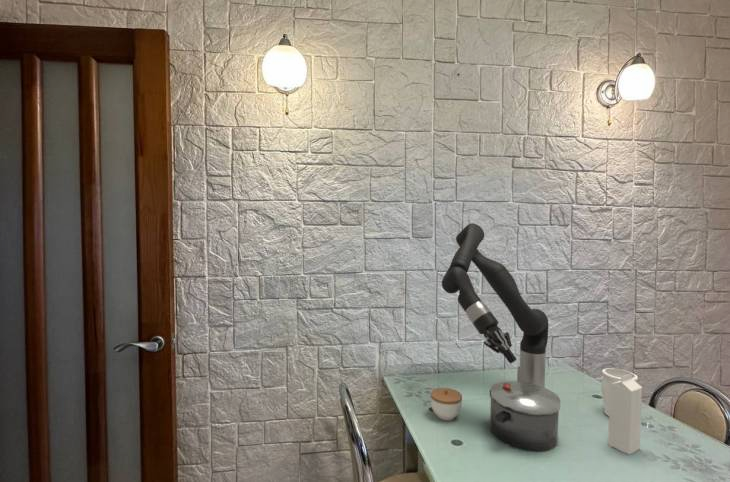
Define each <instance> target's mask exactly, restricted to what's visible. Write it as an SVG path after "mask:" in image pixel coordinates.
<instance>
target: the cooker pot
mask: <svg viewBox="0 0 730 482" xmlns="http://www.w3.org/2000/svg"><path fill="white" fill-rule="evenodd" d="M489 397H490V407H489V409H490V410H489V411H490V413H489V414H490V415H489V430H490V432H491V434H492V435H493V437H494V438H495V439H497V440H498V441H500V442H501V443H502V444H504V445H506V446H509V447H512V448H515V449H518V450H522V451H527V452H537V453H538V452H547V451H550V450H552V449H554V448H555V447H556V446H557V444H558V442H559V441H558V440H559V415H560V414H559V413H560V412H559V411H560V409H559V410H558V411H557V412H556V413H553V414H549V415H528V414H522V413H518V412H514V411H511V410H508V409H506V408H504V407H502V406H500V405H498V404H497V403H496V402H494V400H493V399H492V398H491V388H490V389H489Z"/></svg>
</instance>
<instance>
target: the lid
mask: <svg viewBox="0 0 730 482" xmlns="http://www.w3.org/2000/svg"><path fill="white" fill-rule="evenodd" d="M490 389H491V397H490V399H491V398H492V399H493V400H494V402H496V403H497V404H498V405H500V406H502V407H504V408H506V409H508V410H511V411H514V412H518V413H522V414H528V415H549V414H553V413H556V412H557V411H558V410H559V411H560V408H561V399H560V397H559V395H557V394H556V393H555V392H553V390H552V391H551V390H550V389H548V388H547V387H545V388H544V387H541V386H538V385H535V384H531V383H525V382H517V381H516V380H515V381H514V380H513V381H511V380H510V381H509V380H508V381H501V382H497V383H495V384H492V386H491V388H490Z"/></svg>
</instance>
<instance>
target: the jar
mask: <svg viewBox="0 0 730 482" xmlns="http://www.w3.org/2000/svg"><path fill="white" fill-rule="evenodd" d="M601 373H602V375H603V377H602V381H601V393H602V394H601V395H602V402H603V405H604V407H605V408H604V410H603V412H604V414H605V415H607V416H608V417H609V409H610V384H612V383H615V382H618V381H620V380H621V377H623V376H626V375H628V374H632V379H633V380H634V381H635V382H637V381H638V379H639V378H638V375H636V374H635V373H633V372H631V371H629V370H628V371H627V370H625V369H621V368H613V367H611V368H610V367H608V368H607V367H606V368H604V369H602V371H601Z"/></svg>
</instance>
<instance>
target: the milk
mask: <svg viewBox="0 0 730 482" xmlns="http://www.w3.org/2000/svg"><path fill="white" fill-rule="evenodd" d="M642 399H643V387H642V385H640V384H639V382H637V381H636V382H635V381H634V380H633V379H632V374H628V375H626V376H623V377H621V380H620V381H618V382H615V383H612V384H610V409H609V416H608V438H607V439H608V440H607V441H608V442H607V445H608V446H610V447H612V448H615V449H616V450H619V451H621V452H623V453H625V454H627V455H632V454H633V453H635V452H637V451H638V450H640V449H641V426H642V421H641V420H642V401H643V400H642Z"/></svg>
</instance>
